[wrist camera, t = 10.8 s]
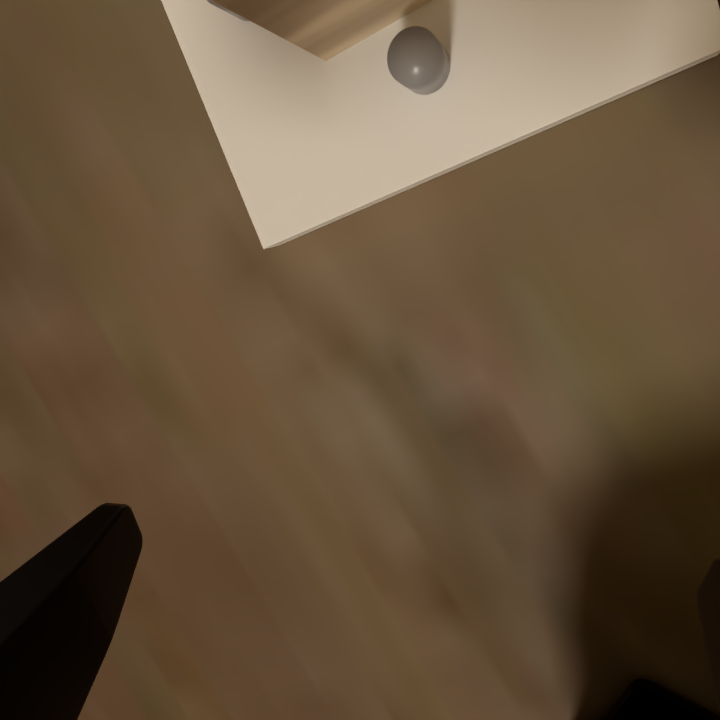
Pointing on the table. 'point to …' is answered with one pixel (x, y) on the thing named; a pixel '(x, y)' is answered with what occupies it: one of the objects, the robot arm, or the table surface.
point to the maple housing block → (323, 20)
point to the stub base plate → (417, 92)
